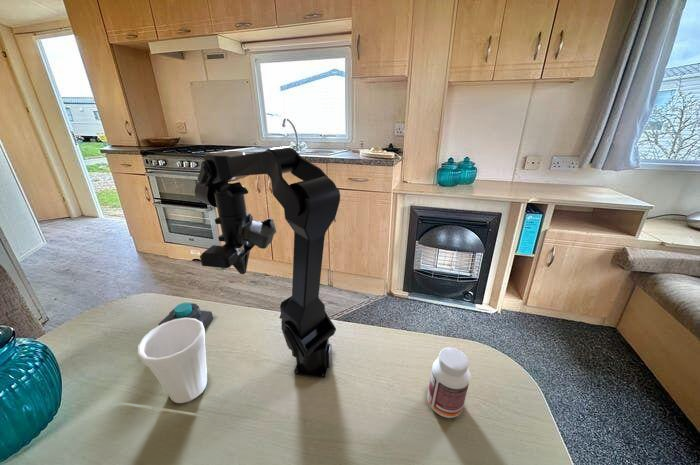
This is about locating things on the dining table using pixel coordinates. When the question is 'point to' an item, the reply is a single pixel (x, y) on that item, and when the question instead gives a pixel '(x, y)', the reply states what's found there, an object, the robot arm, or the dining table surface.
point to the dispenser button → (183, 310)
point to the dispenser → (192, 315)
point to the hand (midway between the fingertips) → (243, 273)
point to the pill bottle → (449, 382)
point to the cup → (177, 357)
